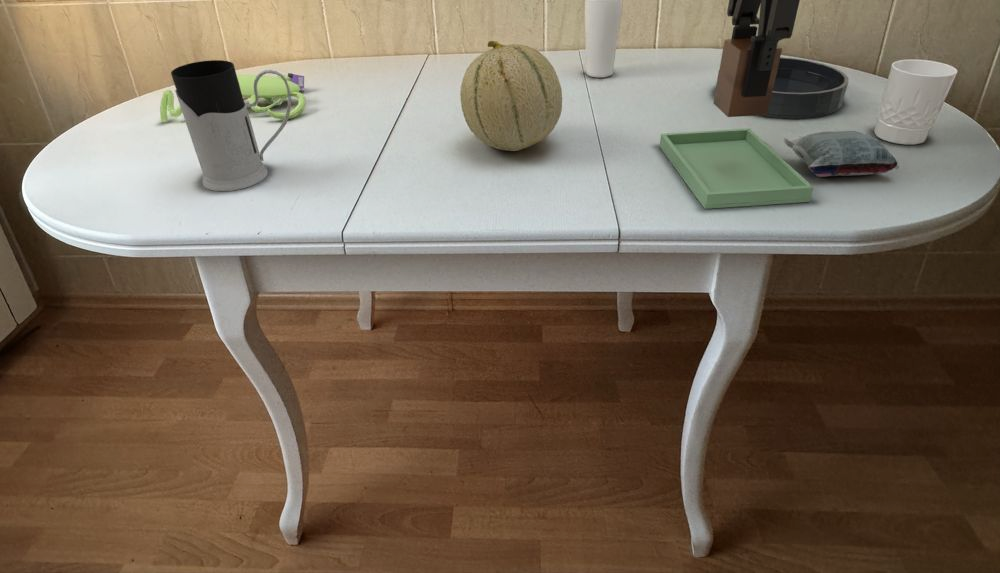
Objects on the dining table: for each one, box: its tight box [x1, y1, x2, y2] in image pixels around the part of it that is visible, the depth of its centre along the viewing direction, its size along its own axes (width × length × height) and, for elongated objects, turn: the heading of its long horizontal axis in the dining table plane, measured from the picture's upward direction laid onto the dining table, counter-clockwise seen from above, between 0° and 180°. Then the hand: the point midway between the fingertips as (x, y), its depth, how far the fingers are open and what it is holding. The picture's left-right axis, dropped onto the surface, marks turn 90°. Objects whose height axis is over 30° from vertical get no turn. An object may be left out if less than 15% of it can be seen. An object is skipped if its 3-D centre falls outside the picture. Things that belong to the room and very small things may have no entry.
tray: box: [659, 127, 815, 210], centre depth 83 cm, size 19×13×2 cm
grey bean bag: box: [783, 130, 900, 178], centre depth 82 cm, size 9×12×5 cm
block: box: [713, 38, 783, 118], centre depth 76 cm, size 5×5×8 cm
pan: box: [714, 56, 849, 120], centre depth 106 cm, size 20×20×4 cm
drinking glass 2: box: [584, 0, 624, 79], centre depth 116 cm, size 7×7×15 cm
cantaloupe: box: [459, 40, 563, 152], centre depth 89 cm, size 15×15×15 cm
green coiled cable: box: [159, 72, 306, 123], centre depth 111 cm, size 18×27×6 cm
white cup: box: [873, 58, 958, 146], centre depth 89 cm, size 8×8×10 cm
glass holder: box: [170, 59, 292, 192], centre depth 84 cm, size 9×14×15 cm, turn 111°
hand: (744, 87), depth 77 cm, fingers closed on block, 5 cm apart
